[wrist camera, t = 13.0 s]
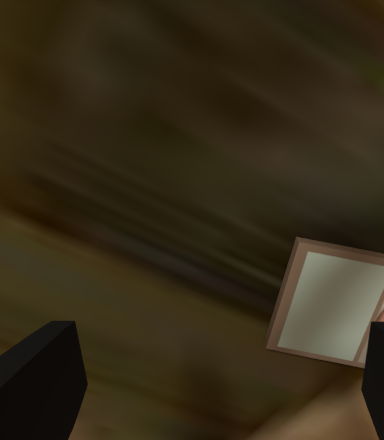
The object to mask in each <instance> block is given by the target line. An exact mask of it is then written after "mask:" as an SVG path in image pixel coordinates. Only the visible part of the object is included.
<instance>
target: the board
mask: <svg viewBox="0 0 384 440" xmlns="http://www.w3.org/2000/svg"><path fill="white" fill-rule="evenodd" d="M383 309H384V254H383V253H377V252H372V251H367V250H362V249H357V248H351V247H346V246H341V245H336V244H331V243H325V242H320V241H315V240H310V239H305V238H299V237H296V240H295V243H294V246H293V249H292V253H291V256H290V259H289V263H288V266H287V269H286V272H285V276H284V279H283V282H282V285H281V289H280V292H279V295H278V298H277V302H276V305H275V308H274V311H273V315H272V318H271V321H270V324H269V328H268V331H267V334H266V338H265V346H266V349H270V350H275V351H280V352H285V353H290V354H295V355H300V356H305V357H310V358H315V359H320V360H325V361H330V362H335V363H340V364H345V365H350V366H355V367H361V368H365V361H366V354H367V347H368V339H369V332H370V325H371V321H376V319H377V317H378V316H379V314H380V313H381V311H382V310H383Z"/></svg>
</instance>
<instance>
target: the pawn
mask: <svg viewBox="0 0 384 440" xmlns="http://www.w3.org/2000/svg"><path fill="white" fill-rule="evenodd" d="M376 321H378V322H384V309H383V310H382V311H381V313H380V314H379V316H378V317H377V319H376Z"/></svg>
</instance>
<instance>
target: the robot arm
mask: <svg viewBox="0 0 384 440" xmlns="http://www.w3.org/2000/svg"><path fill="white" fill-rule="evenodd" d="M87 385H88V383H87V378H86V373H85V369H84V364H83V359H82V354H81V349H80V344H79V339H78V334H77V329H76V324H75V321H51V322H49V323H48V324H46V325H44V326H43V327H41V328H40V329H38V330H37V331H35V332H34V333H32V334H31V335H29V336H28V337H26V338H25V339H23V340H22V341H21V342H19V343H18V344H16V345H15V346H13V347H12V348H10V349H9V350H8V351H6V352H5V353H3V354H2V355H0V440H68V438H69V436H70V434H71V432H72V429H73V427H74V424H75V421H76V419H77V416H78V413H79V410H80V407H81V404H82V401H83V398H84V394H85V391H86V388H87ZM361 390H362V393H363V396H364V399H365V402H366V405H367V407H368V410H369V413H370V416H371V419H372V421H373V424H374V427H375V429H376V432H377V435H378V437H379V439H380V440H384V322H378V321H371V325H370V332H369V339H368V347H367V354H366V361H365V368H364V375H363V382H362V389H361Z"/></svg>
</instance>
